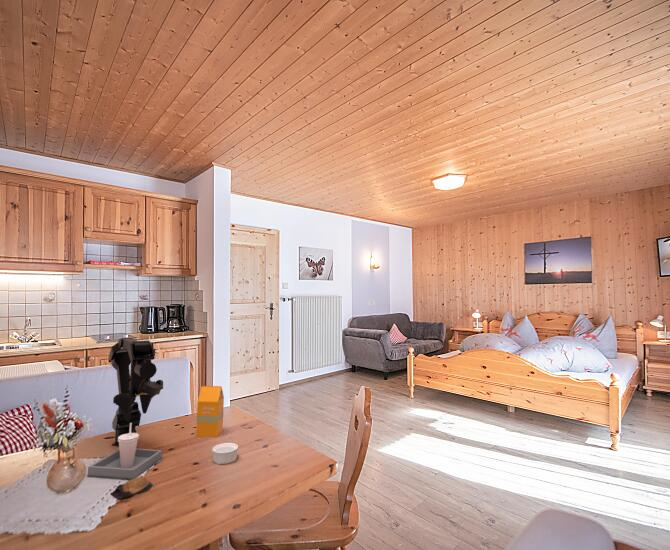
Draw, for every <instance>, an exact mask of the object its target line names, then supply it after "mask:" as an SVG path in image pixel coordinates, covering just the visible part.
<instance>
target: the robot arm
mask: <svg viewBox="0 0 670 550" xmlns="http://www.w3.org/2000/svg"><path fill="white" fill-rule="evenodd" d="M108 353H109V354H108V355H109V356H108V359H109V361H110V363H111V366H112V367H113V368H114V370H115V371H116V378H117V387H118V389H117V391H118V394H116V395H115V396H114V397H113V399H112V404H115V405H116V406H117V409H116V411H115V415H114V417H113V420H112V423H111V425H112V426H111V427H112V429H113V430H114V431H115V437H114V440H115V441H114V442H113V443H112V444H111V446H116V447H117V446H118V447H119V442H118V437H119V436H121V435H123V434H127V433H129V429H130V423H132V426H131V433H137V430H136V427H140V423H141V417H142V414H147V412H148V410H149V407H150V404H151V401H152V399H153V398H154V397H156V396H157V395H160V393H161V390H163V389H164V380H162V379H158V380H156V381H155V380H151V378H153V377H154V376H155V375H156V373H157V370H158V369H157V365H156V364H154V363H153V362H152V360H155V356H156V352H155V349H154V346H153V344H152V342H151V341H150V340H137V339H135V338H134V337H121V338H119V339H118V340H117V342H116V343H115V344H114V345H112V346H111V348H110V350H109V352H108ZM137 397H139V400H140V406H141V411H142V413H141V411H140V409H139V403H138V401H136V399H137Z"/></svg>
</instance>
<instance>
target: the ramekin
mask: <svg viewBox="0 0 670 550" xmlns="http://www.w3.org/2000/svg"><path fill="white" fill-rule="evenodd" d="M238 449H239V445H238V444H237V443H233V442H225V443H220V444H217V445H214V446H213V447H212V449H211V451H212V458H213V459H212V460H213V462H214V464H217V465H226V464H227V465H228V464H231V463H234V462H235V461H236V460H237V457H238V456H237V455H238Z"/></svg>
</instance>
